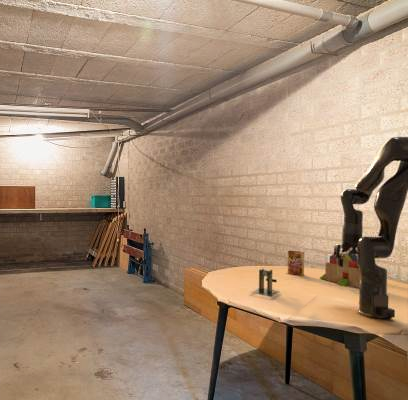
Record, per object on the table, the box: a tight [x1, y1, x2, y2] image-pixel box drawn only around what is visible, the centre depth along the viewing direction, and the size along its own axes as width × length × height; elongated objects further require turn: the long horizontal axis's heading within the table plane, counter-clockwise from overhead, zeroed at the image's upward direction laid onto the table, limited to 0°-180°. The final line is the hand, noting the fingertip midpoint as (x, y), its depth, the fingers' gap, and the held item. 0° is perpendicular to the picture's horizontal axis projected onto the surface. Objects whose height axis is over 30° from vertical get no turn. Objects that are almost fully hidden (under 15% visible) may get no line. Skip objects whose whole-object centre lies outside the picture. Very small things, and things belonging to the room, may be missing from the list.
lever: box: [262, 269, 278, 283], centre depth 177 cm, size 12×5×2 cm, turn 137°
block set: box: [319, 252, 360, 289], centre depth 200 cm, size 28×14×19 cm, turn 21°
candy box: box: [287, 249, 305, 276], centre depth 224 cm, size 9×4×15 cm, turn 43°
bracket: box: [250, 268, 281, 298], centre depth 174 cm, size 13×10×13 cm
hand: (350, 266), depth 159 cm, fingers open, 8 cm apart
